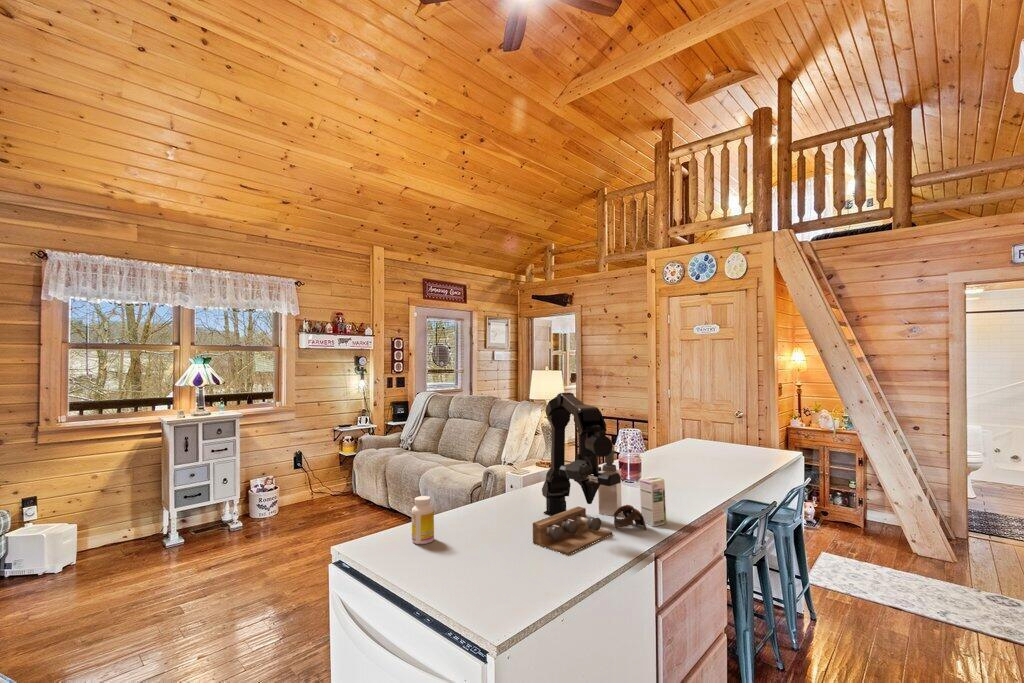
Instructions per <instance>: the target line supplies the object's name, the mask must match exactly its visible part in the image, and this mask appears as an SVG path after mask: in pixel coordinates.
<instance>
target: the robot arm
mask: <svg viewBox="0 0 1024 683" xmlns="http://www.w3.org/2000/svg"><path fill="white" fill-rule="evenodd" d="M545 414H546V419H547V421H548V423H549V425H550V427H551V429H550V431H551V434H550V436H551V440H550V442H551V443H550V444H551V445H550V446H551V447H550V453H551V454H550V467H549V469H548V471H547V472H546V474H545V480H544V483H543V484H542V487H541V493H542V496H543V497H544V498H545V499H546V501H545V502H546V504H545V505H546V510H545V511H543V514H544V513H545V514H544V515H547V514H548V516H551V515H552V516H553V515H556V514H559V513H561V512H564V511H567V501H566V497H570V494H571V493H570V492H571V481H570V480H573V481H574V482H576V483H577V484H578V485H579V486H580V488H581V491H582V493H583V495H584V498H585V501H586V503H587V504H588V505H591V504H593V501H594V500H595V496H596V494H597V492H598V488H599V486H600V485H605V486H612V485H615V484H618V483H621V484H622V478H621V477H622V476H620V475H619V473H617V472H612V471H607V472H603V473H599V471H601V470H602V466H599V465H600V464H599V458H605V456H608V455H609V454H610V453H611V451H612V449H613V446H614V444H613V442H612V440H611V438H610V437H608V436H606V435H607V433H606V432H607V423H606V422H605V419H604V416H603V415H602V412H601V410H600V409H599V407H598V406H597V407H596V406H594V405H588V404H585V403H584V402H583V401H582V400H580V399H579V398H577V397H576V396H575V394H574V393H572V392H559V393H558V394H557V395H556V396H555V397H553V398H551V400H549V401H548V402H547V404H546V405H545ZM571 415H572V416H573V422H574V424H575V426H576V428H577V429H576V433H577V434H578V436H577V437H578V438H577V439H578V453H576V454H575V458H574V460H573V461H571V462H570V463H566V464H565V454H566V452H565V450H566V447H565V446H566V428H567V426H568V424H569V423H570V420H571Z"/></svg>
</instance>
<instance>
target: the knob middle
mask: <svg viewBox="0 0 1024 683" xmlns="http://www.w3.org/2000/svg"><path fill="white" fill-rule="evenodd" d="M561 527H563V528H564V530H565V531H566V532H568V533H571V534H575V533H576V532H577V530H578V523H577V521H574V520H570V519H568V520H566V522H565V521H561Z"/></svg>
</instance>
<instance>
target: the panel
mask: <svg viewBox="0 0 1024 683" xmlns="http://www.w3.org/2000/svg"><path fill="white" fill-rule="evenodd" d="M586 513H587V511H586V507H581V506H576V507H573V508H570V509H566V511H564V512H561V513H559V514H556V515H553V516H551V515H549V516H548V517H545V518H542V519H540V520H537V521H534V522H532V544H533V543H534V544H533V545H536V544H537V545H536V546H538V545H540V546H539V547H541V546H542V548H544V547H546V548H545V549H547V548H549V549H548V550H550V549H551V551H553V550H554V551H553V552H556V551H557V552H556V553H558V552H560V553H559V554H561V553H563V554H562V555H564V554H566V555H565V556H567V555H568V556H570V555H572V554H574V553H576V552H575V551H577V550H579V549H581V548H583V547H585V548H587V547H589V546H591V545H593V544H592V543H594V542H596V541H598V540H600V541H602V540H604V539H606V538H608V537H610V536H612V535H613V531H611V530H607V529H603V528H600V529H599V530H598V531H595V530H592V529H589V528H588V525H587V524H583V523H580V522H577V523H578V530H577V532H576V533H575V534H571V533H568V532H566V531H565V530H564V528H563V527H562V528H563V531H564V533H563V537H562V539H561V540H555V539H552V538H550V536H549V534H548V533H546V526H547V527H551V526H552V525H556V526H560V527H561V521H565V522H566V520H568V519H570V520H574V521H575V518H576V516H580V517H584V518H587V514H586ZM609 535H610V536H609ZM607 536H608V537H607ZM605 537H606V538H605ZM603 538H604V539H603ZM601 539H602V540H601ZM598 542H599V541H598ZM596 543H597V542H596ZM590 544H591V545H590ZM594 544H595V543H594ZM588 545H589V546H588ZM586 546H587V547H586ZM583 549H584V548H583ZM581 550H582V549H581ZM579 551H580V550H579ZM573 552H574V553H573ZM577 552H578V551H577ZM571 553H572V554H571ZM569 554H570V555H569Z"/></svg>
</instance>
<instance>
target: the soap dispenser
mask: <svg viewBox="0 0 1024 683" xmlns="http://www.w3.org/2000/svg"><path fill="white" fill-rule="evenodd" d="M615 452H616V451H615V449H613V448H612V451H611V453H610V454H609V455H608V456H605V457H604V463H605V464H603V465H602V467H601V471H599V473H603V472H607V471H612V472H617V473H619V475H620V476H621V475H622V473H621V469H617V465H616V464H614V462H615V460H614V458H615V457H614V456H615V455H616V453H615ZM621 477H622V476H621ZM597 492H598V514H599V515H602V514H606V515H605V516H610V515H614V513H615V511H616V510H617V509H618V508H620V507H622V506H623V505H622V482H621V483H618V484H615V485H612V486H605V485H600V486H599V488H598V490H597ZM619 515H620V514H618V516H619Z"/></svg>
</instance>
